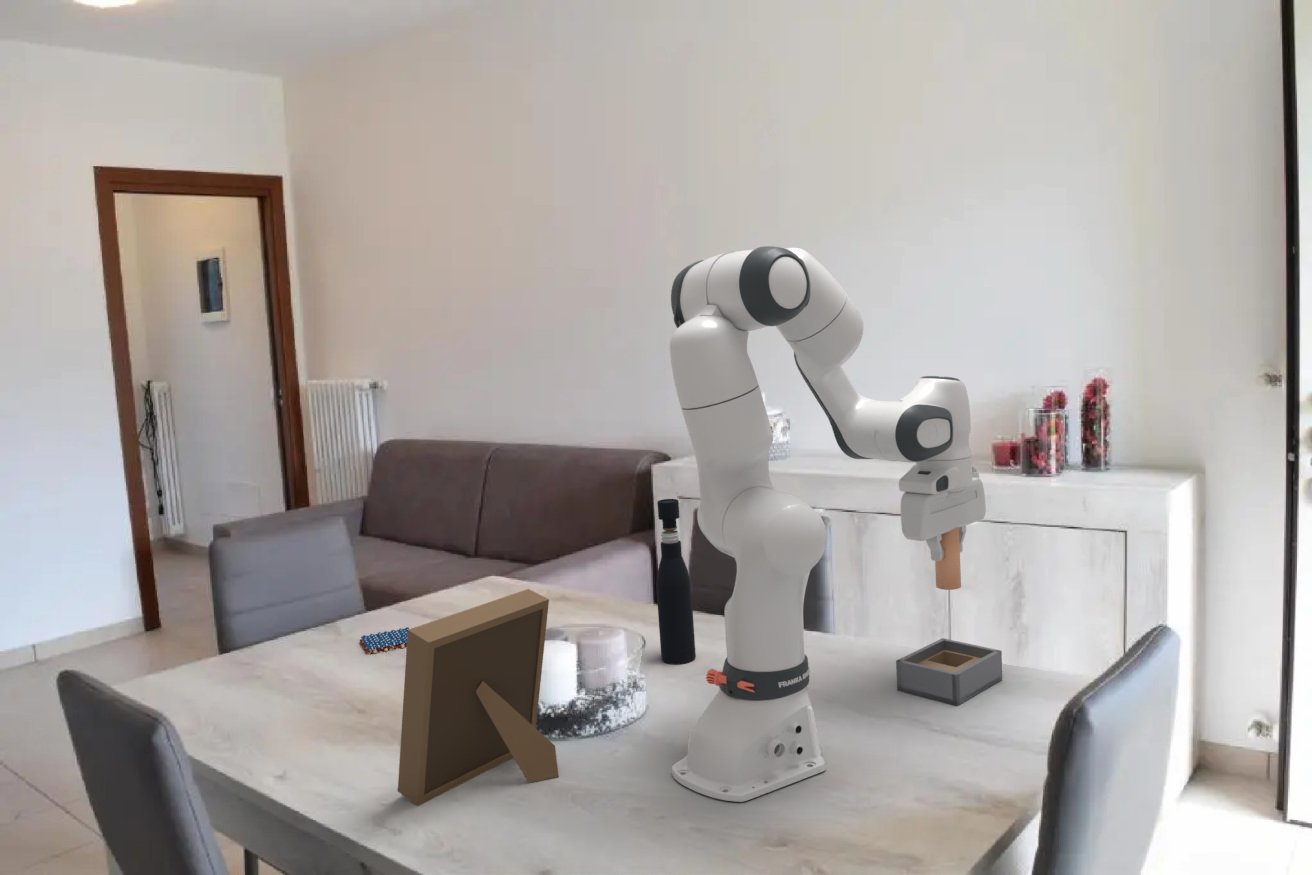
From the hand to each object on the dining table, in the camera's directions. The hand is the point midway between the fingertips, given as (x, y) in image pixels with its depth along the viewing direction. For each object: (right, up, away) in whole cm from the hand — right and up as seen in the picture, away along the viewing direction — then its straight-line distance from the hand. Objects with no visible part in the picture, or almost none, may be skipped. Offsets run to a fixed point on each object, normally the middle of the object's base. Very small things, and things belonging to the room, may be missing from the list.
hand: (947, 556), depth 166 cm
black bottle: (-44, -22, +21) cm, 54 cm away
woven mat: (-104, -24, +43) cm, 115 cm away
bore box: (0, -21, 0) cm, 21 cm away
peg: (0, -5, +1) cm, 5 cm away
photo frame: (-71, -29, -24) cm, 81 cm away
